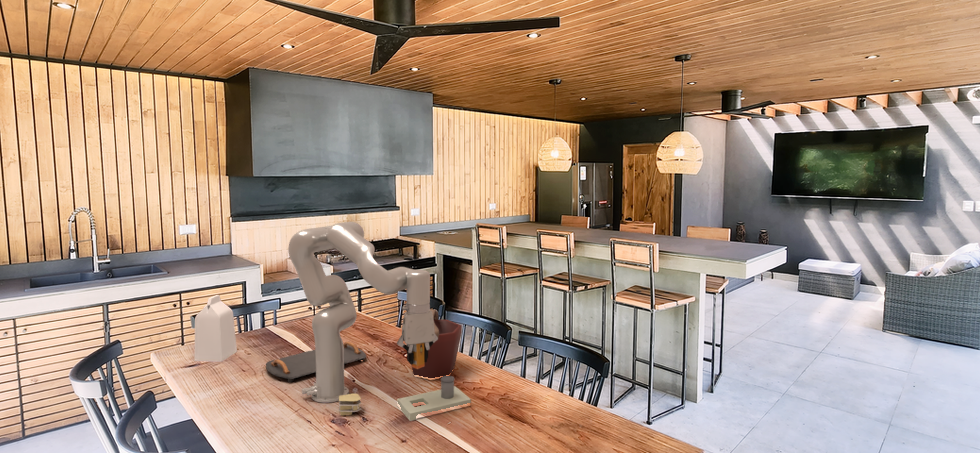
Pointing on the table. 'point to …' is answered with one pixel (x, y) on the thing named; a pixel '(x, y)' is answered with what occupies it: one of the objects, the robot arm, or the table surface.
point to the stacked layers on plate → (349, 404)
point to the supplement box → (418, 356)
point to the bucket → (441, 349)
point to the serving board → (308, 362)
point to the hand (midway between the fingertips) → (417, 361)
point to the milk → (214, 332)
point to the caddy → (434, 399)
